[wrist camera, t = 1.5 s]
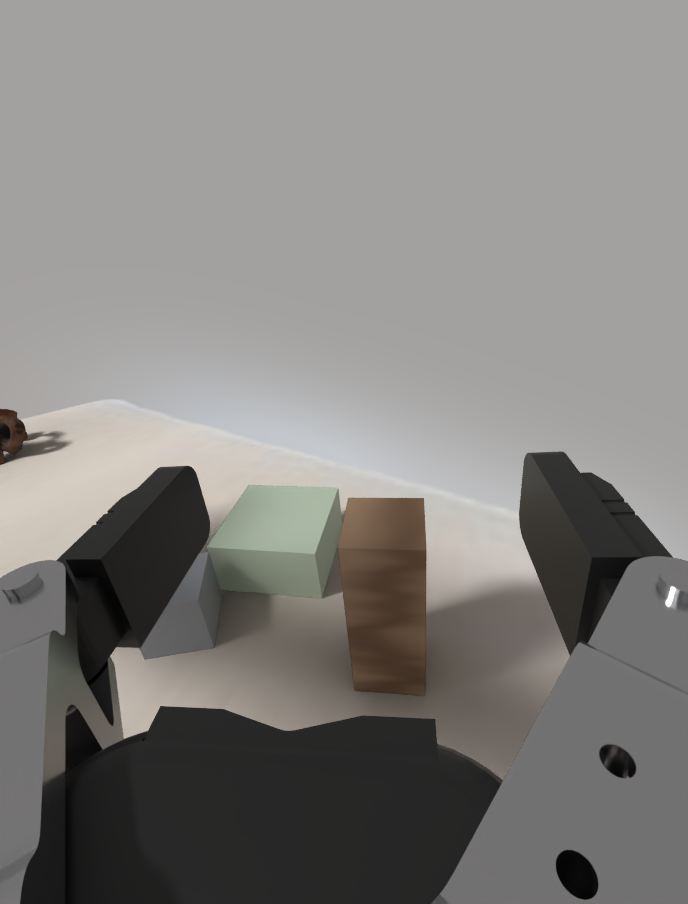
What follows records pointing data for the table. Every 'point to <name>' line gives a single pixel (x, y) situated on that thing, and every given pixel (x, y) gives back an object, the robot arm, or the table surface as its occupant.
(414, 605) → the walnut post
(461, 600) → the table surface
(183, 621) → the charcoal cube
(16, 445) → the brown arched piece
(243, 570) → the sage block
